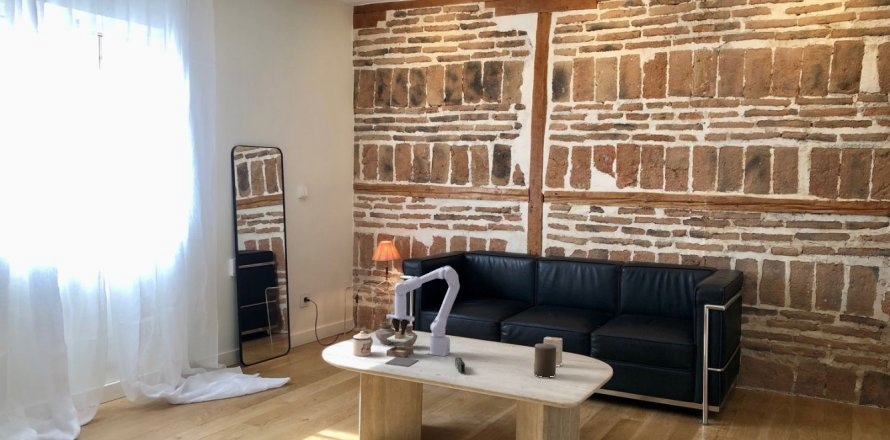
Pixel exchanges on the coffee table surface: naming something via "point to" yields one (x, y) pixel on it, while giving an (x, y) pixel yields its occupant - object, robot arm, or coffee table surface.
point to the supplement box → (558, 344)
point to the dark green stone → (460, 365)
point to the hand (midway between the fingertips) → (400, 334)
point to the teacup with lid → (362, 344)
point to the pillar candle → (545, 360)
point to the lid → (399, 337)
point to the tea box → (399, 351)
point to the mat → (402, 361)
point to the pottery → (387, 332)
